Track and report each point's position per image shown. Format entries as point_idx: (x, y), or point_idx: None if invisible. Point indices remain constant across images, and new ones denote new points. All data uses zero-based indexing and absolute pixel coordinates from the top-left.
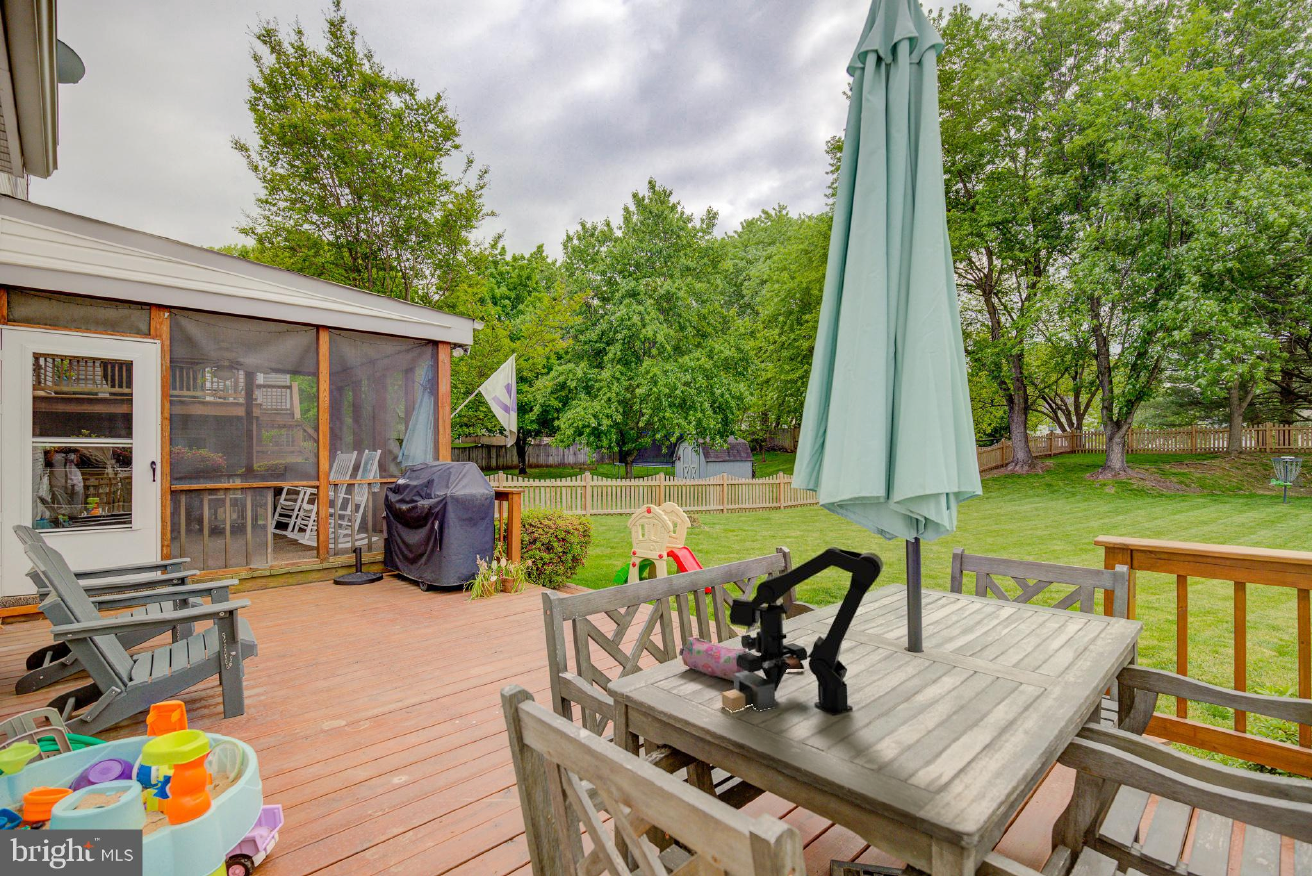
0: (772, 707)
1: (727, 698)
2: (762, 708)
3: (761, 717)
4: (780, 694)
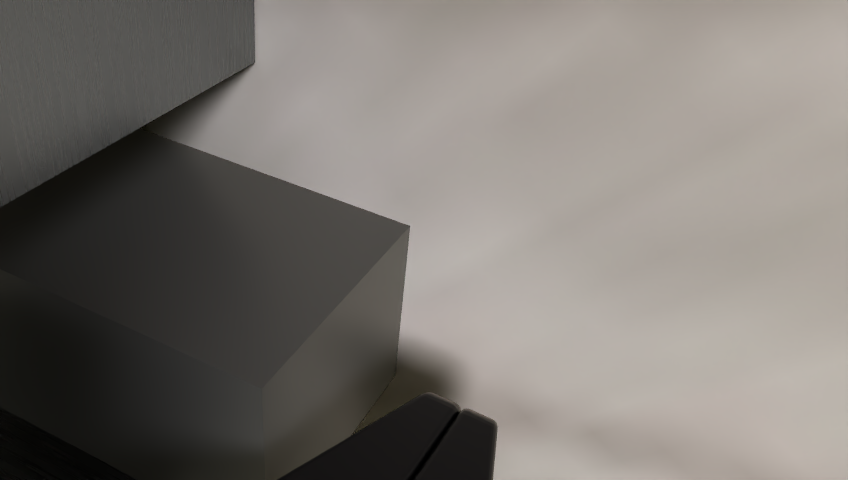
0: None
1: None
2: None
3: None
4: (733, 415)
